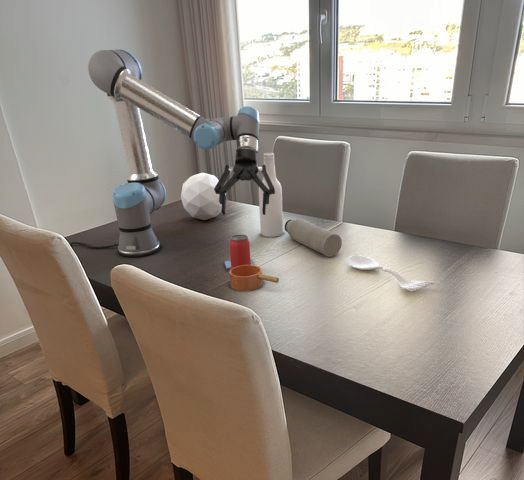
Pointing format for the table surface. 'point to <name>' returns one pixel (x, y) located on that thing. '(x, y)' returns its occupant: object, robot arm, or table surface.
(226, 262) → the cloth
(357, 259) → the spoon
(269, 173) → the alcohol
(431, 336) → the table surface
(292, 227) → the thermos bottle
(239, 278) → the pan
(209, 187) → the geometric orb
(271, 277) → the pan handle
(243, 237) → the beer can
